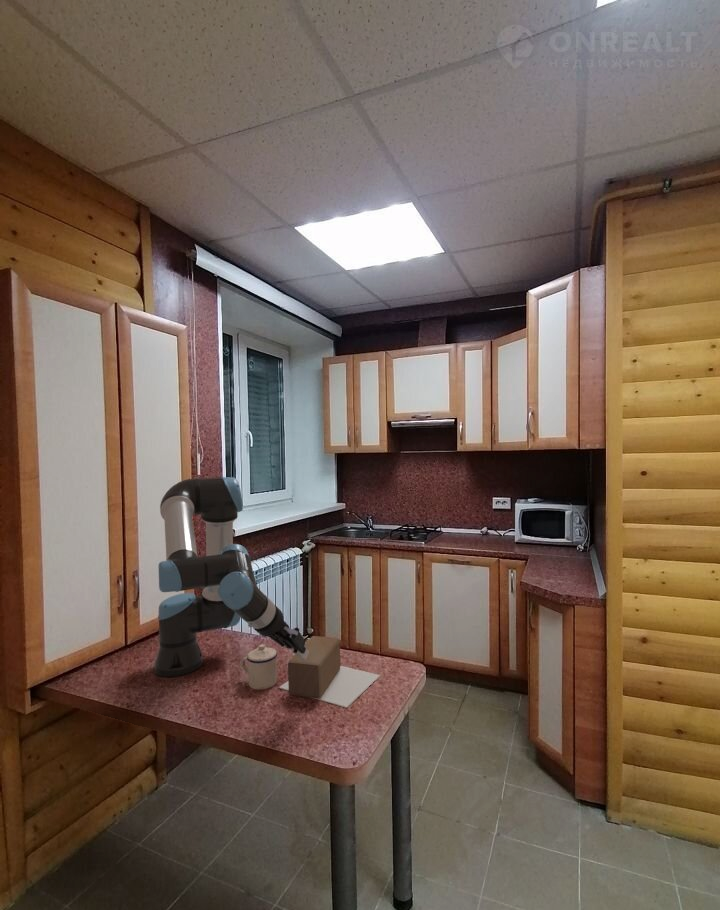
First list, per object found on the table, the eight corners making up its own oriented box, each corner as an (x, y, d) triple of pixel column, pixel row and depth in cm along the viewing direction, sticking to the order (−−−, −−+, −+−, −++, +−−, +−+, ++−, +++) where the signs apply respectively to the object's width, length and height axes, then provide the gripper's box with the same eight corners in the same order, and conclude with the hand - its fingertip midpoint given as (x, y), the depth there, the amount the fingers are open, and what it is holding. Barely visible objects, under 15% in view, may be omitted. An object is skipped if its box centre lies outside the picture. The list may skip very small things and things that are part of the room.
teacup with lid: (283, 678, 144) (282, 641, 144) (267, 692, 135) (266, 653, 135) (250, 672, 148) (249, 637, 148) (233, 686, 140) (232, 648, 140)
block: (318, 664, 130) (340, 636, 149) (286, 661, 132) (311, 634, 152) (319, 700, 130) (341, 667, 149) (287, 696, 133) (312, 664, 152)
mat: (279, 688, 138) (278, 687, 138) (317, 660, 155) (317, 660, 155) (346, 708, 126) (346, 707, 126) (380, 676, 143) (380, 675, 143)
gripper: (237, 625, 116) (282, 663, 131) (277, 634, 110) (319, 673, 124) (251, 598, 121) (293, 638, 135) (290, 605, 114) (329, 646, 129)
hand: (305, 655), depth 130 cm, fingers closed
